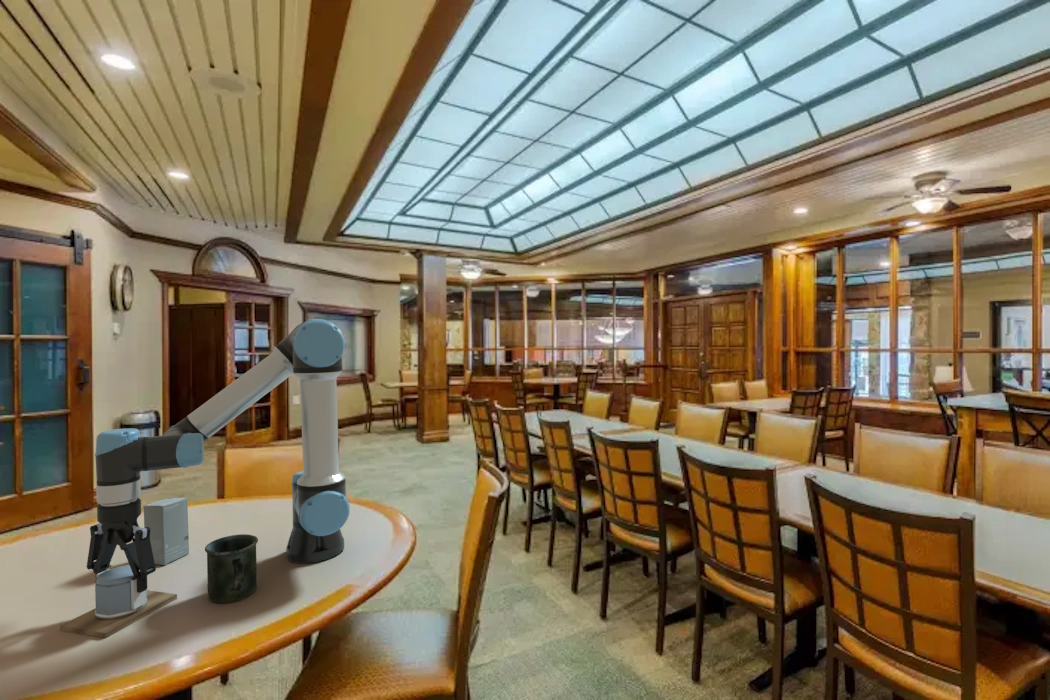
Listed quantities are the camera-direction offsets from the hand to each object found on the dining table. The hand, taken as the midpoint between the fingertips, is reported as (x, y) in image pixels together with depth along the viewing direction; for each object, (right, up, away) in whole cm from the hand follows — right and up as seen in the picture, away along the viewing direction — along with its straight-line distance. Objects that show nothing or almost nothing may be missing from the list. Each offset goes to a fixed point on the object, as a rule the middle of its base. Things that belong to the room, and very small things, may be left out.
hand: (121, 603), depth 112 cm
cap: (0, 0, 0) cm, 0 cm away
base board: (0, -2, 0) cm, 2 cm away
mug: (+20, -2, +7) cm, 22 cm away
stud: (0, -2, 0) cm, 2 cm away
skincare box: (-10, -2, +28) cm, 30 cm away
